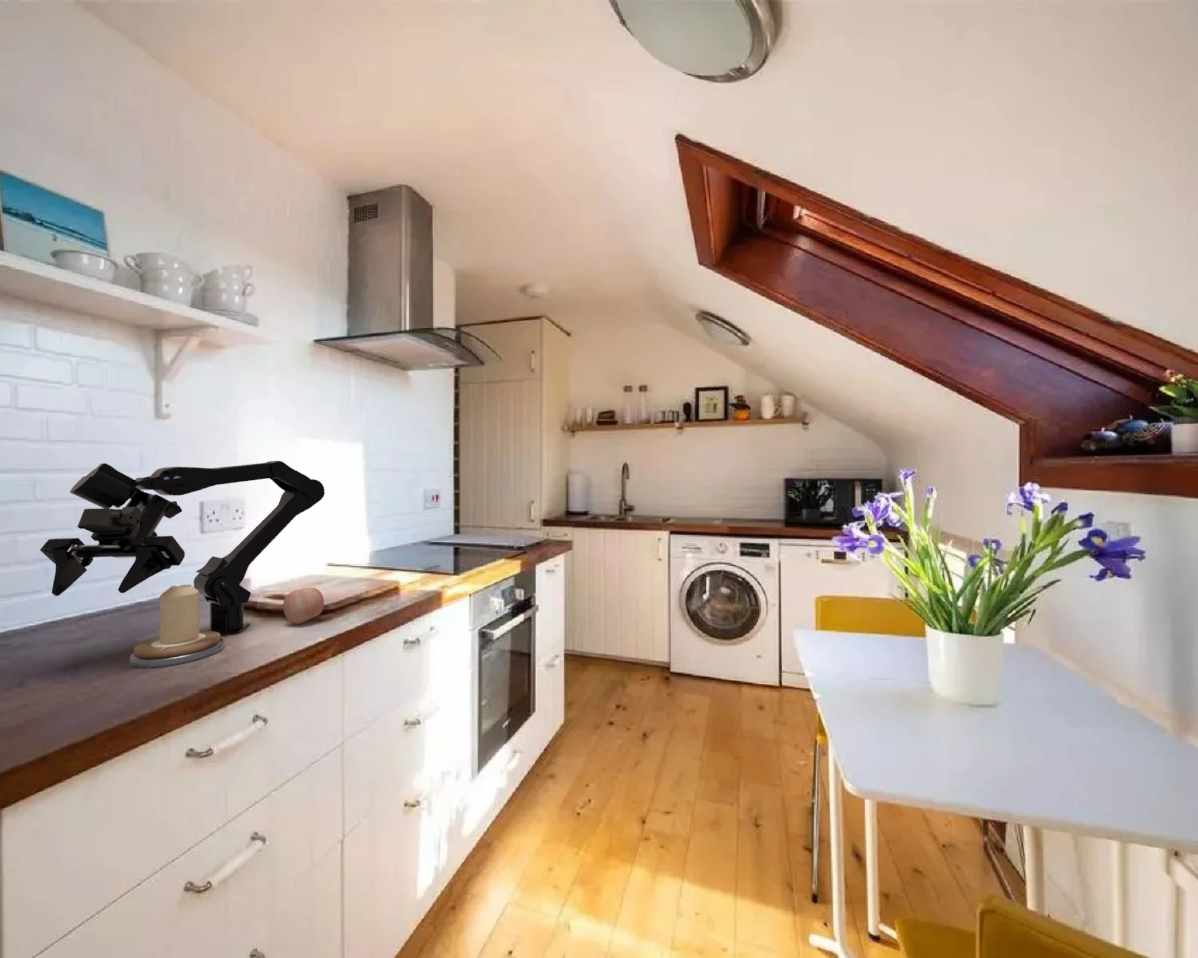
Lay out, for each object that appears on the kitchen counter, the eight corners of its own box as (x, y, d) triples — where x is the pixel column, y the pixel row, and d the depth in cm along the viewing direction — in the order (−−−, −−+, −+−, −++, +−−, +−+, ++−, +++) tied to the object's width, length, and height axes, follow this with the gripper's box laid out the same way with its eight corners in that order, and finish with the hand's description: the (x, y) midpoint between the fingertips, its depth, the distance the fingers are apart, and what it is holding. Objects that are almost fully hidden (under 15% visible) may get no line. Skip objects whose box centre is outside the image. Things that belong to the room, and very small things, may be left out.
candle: (175, 645, 86) (176, 589, 86) (151, 643, 87) (151, 588, 87) (206, 635, 91) (206, 583, 91) (183, 634, 92) (183, 582, 92)
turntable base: (157, 646, 93) (157, 640, 93) (235, 639, 97) (235, 634, 97) (111, 671, 81) (111, 664, 81) (202, 663, 85) (202, 656, 85)
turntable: (159, 639, 93) (159, 633, 93) (231, 634, 96) (231, 627, 96) (116, 661, 82) (116, 654, 82) (200, 654, 85) (200, 647, 85)
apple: (327, 616, 114) (327, 583, 114) (319, 625, 106) (319, 589, 106) (288, 620, 111) (288, 585, 111) (278, 629, 104) (278, 592, 104)
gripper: (50, 492, 83) (-18, 566, 72) (174, 491, 87) (127, 562, 76) (89, 533, 91) (32, 606, 80) (201, 530, 94) (162, 600, 83)
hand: (88, 593), depth 79 cm, fingers open, 9 cm apart
